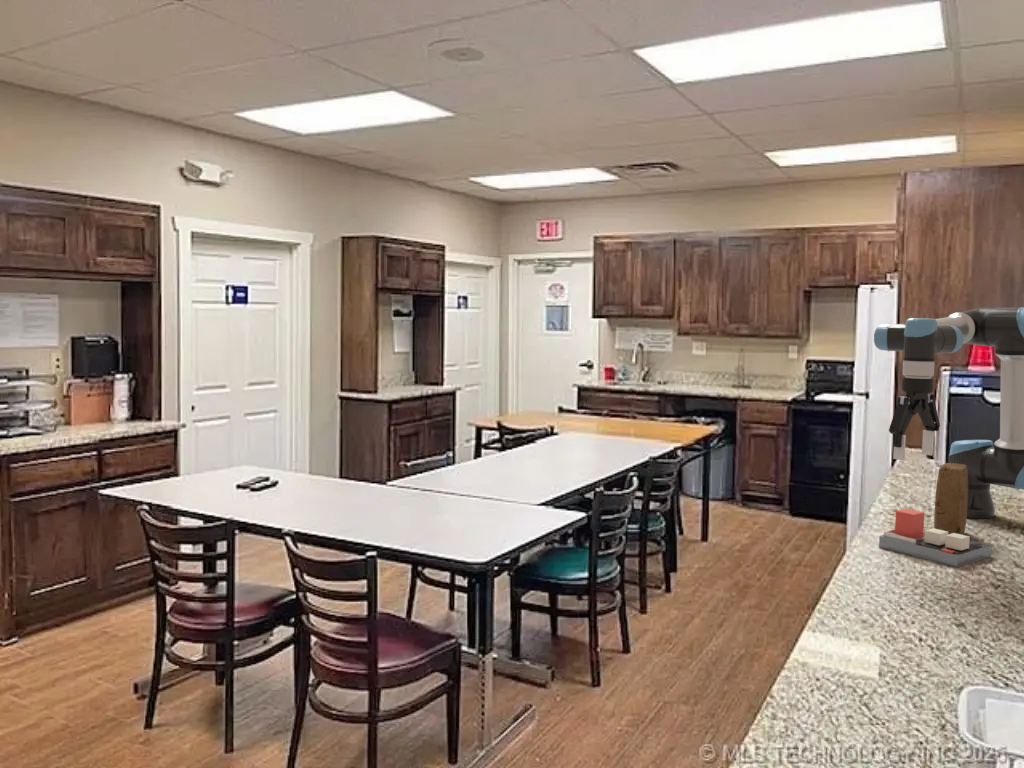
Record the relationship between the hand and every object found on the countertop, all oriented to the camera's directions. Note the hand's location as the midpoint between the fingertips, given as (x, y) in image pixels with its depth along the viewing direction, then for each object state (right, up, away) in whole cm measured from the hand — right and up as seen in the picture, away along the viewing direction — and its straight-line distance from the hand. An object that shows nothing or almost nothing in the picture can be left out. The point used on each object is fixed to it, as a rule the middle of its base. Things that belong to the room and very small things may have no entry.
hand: (913, 457), depth 225 cm
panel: (+5, -25, -1) cm, 25 cm away
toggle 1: (+4, -22, -4) cm, 22 cm away
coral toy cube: (0, -22, +2) cm, 22 cm away
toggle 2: (+7, -22, -9) cm, 25 cm away
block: (+19, -24, +18) cm, 35 cm away
